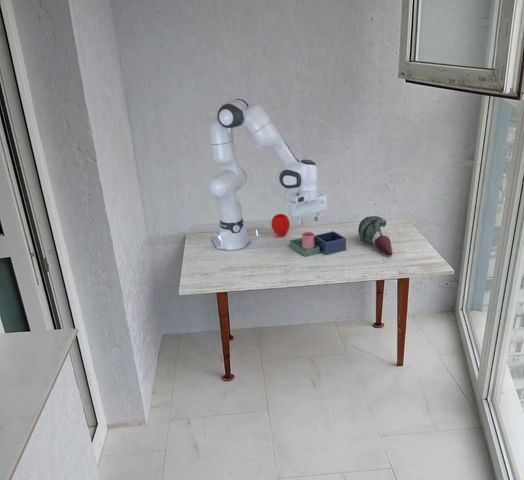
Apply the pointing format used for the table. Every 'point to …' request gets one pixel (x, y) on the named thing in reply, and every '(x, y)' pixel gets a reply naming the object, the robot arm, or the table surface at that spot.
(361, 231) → the figurine
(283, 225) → the red rounded egg shape
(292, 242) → the rack
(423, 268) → the table surface
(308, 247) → the cup
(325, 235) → the navy blue open box
